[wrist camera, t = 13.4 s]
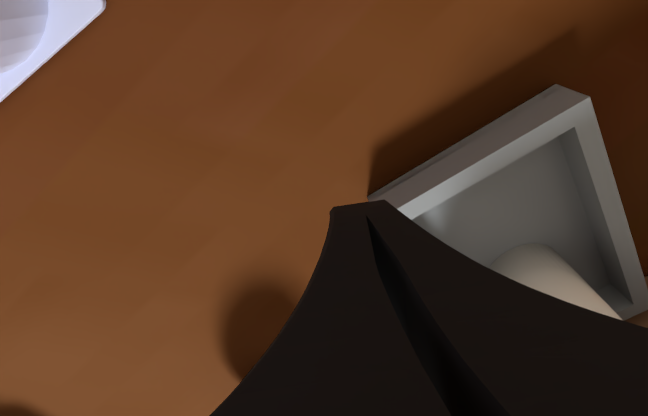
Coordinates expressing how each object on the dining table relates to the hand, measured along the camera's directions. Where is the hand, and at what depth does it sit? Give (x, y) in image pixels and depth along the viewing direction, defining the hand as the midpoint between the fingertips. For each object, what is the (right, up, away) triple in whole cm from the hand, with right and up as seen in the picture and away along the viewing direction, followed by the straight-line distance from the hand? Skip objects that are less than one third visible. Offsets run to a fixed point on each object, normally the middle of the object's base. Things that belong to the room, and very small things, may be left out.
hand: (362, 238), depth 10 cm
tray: (+9, -1, +13) cm, 16 cm away
